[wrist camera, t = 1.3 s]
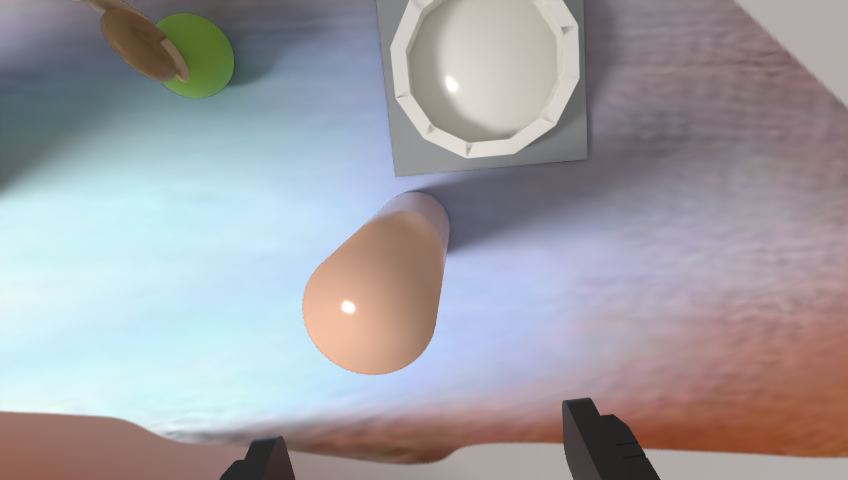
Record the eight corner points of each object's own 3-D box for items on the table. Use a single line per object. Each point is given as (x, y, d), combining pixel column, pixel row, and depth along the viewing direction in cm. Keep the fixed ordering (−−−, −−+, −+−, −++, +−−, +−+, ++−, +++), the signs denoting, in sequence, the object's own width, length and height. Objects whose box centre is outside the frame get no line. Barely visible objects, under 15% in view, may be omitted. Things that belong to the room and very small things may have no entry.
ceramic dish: (406, 162, 35) (402, 164, 33) (388, -14, 33) (382, -26, 30) (572, 146, 34) (581, 147, 32) (567, -38, 32) (575, -52, 29)
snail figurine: (203, -5, 34) (69, -76, 23) (262, 68, 35) (162, 36, 24) (153, 45, 36) (0, 3, 24) (211, 115, 36) (91, 107, 25)
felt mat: (395, 176, 36) (395, 176, 36) (373, -26, 33) (372, -28, 33) (586, 158, 35) (587, 159, 34) (580, -54, 32) (582, -57, 31)
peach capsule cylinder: (383, 264, 38) (312, 378, 20) (375, 194, 37) (292, 252, 19) (453, 259, 37) (442, 371, 20) (446, 188, 36) (429, 241, 19)
